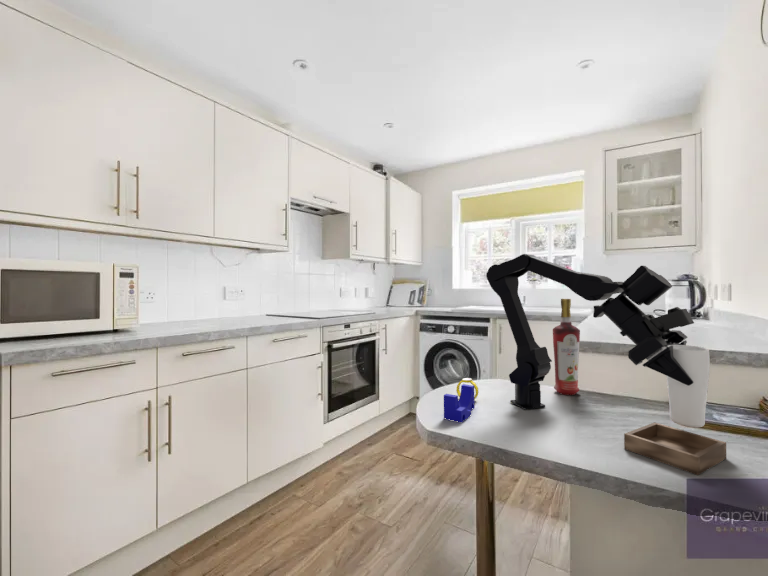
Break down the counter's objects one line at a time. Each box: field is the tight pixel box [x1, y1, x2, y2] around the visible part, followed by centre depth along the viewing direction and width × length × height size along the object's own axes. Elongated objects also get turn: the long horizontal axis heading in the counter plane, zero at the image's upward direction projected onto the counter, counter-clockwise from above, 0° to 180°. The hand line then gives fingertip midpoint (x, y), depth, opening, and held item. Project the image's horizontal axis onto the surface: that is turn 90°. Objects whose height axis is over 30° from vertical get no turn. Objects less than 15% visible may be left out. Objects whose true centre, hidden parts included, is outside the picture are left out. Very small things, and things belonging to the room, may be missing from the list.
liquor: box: [552, 298, 581, 396], centre depth 109 cm, size 7×7×28 cm
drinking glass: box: [665, 344, 711, 429], centre depth 72 cm, size 7×7×15 cm
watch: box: [456, 377, 479, 400], centre depth 103 cm, size 6×3×6 cm, turn 57°
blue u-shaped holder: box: [443, 383, 475, 423], centre depth 92 cm, size 12×4×6 cm, turn 145°
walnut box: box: [623, 422, 727, 476], centre depth 69 cm, size 12×12×3 cm
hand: (695, 381), depth 71 cm, fingers closed on drinking glass, 6 cm apart
